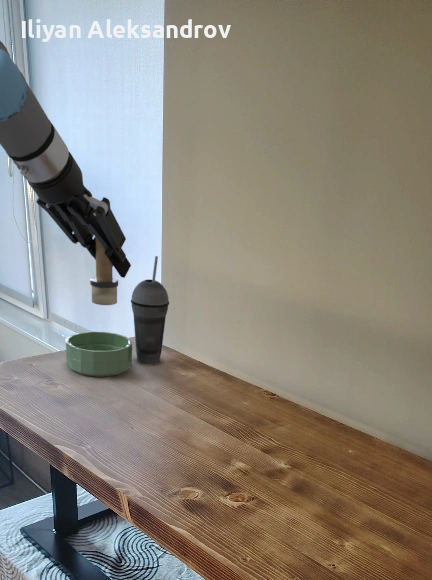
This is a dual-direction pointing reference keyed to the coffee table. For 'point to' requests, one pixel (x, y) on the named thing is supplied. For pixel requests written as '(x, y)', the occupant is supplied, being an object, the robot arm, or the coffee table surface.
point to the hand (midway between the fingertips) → (118, 269)
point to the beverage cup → (149, 318)
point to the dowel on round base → (103, 279)
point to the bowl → (99, 353)
